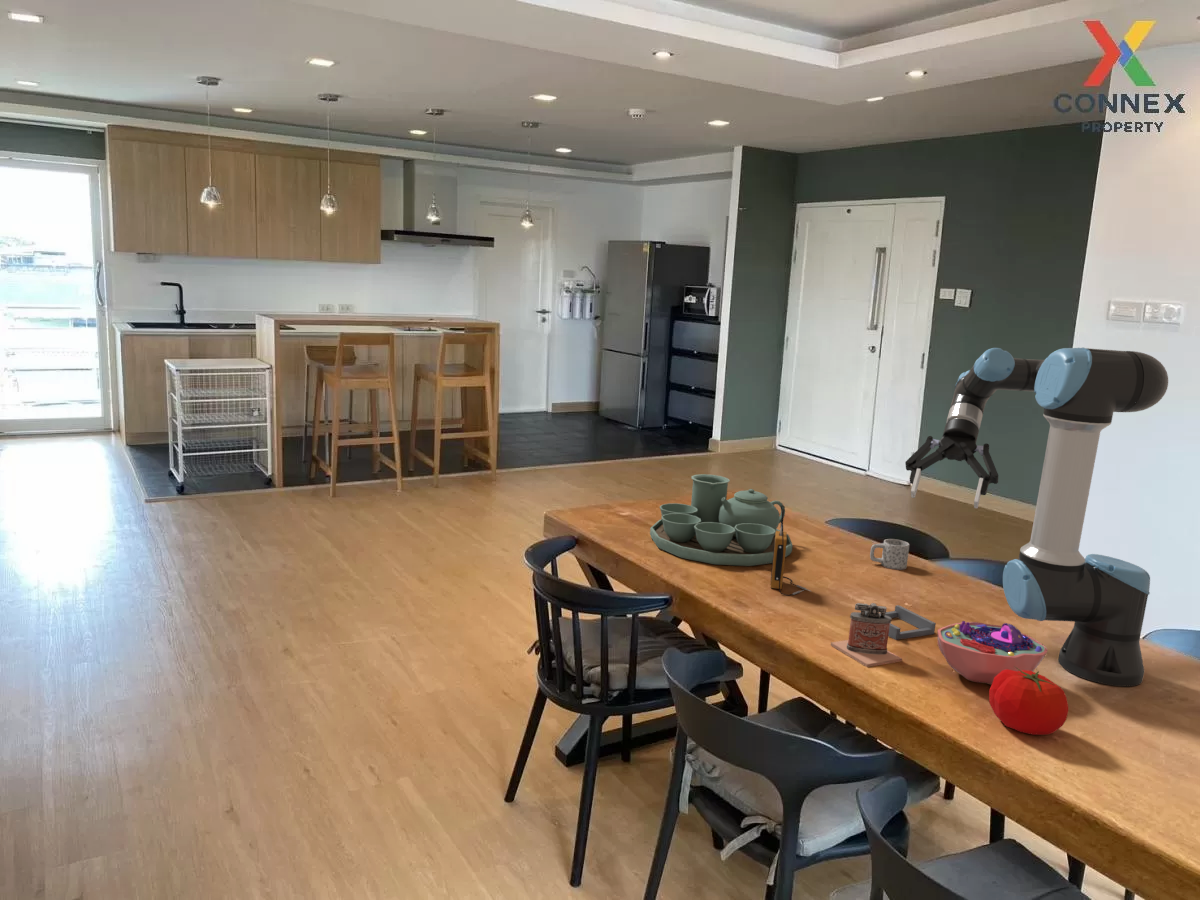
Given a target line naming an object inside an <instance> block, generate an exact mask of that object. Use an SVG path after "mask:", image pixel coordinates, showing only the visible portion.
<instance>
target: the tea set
mask: <svg viewBox="0 0 1200 900" xmlns="http://www.w3.org/2000/svg"><path fill="white" fill-rule="evenodd" d="M691 480H692V489H691V490H692V491H691V503H690V504H684V503H677V502H676V503H675V502H674V503H670V502H669V503H664V504H661V505H660V506H659V509H660V514H661V515H660V518H661V519H659V520H657V521H656V522H655V523H654V524H653V525H652V526H650V528H649V530H650V531H649V535H650V537H651V539H652V541H653V542H654V544H655V545H656V547H657V548H658V549H659V550H662V551H665V552H667V553H669V554H672V555H674V556H677V557H679V558H680V559H686V560H691V561H695V562H700V563H701V562H702V563H706V564H710V565H715V566H717V565H719V566H720V565H721V566H722V565H723V566H735V567H738V566H739V567H740V566H741V567H752V566H760V565H766V564H767V565H768V564H772V562H773V552H774V542H775V534H776V531H780V529H778V527H779V524H781V518H782V510H783V509H784V507H785V506H784V504H783V503H782V502H781V501H779V500H772V501H769V500H768V496H767V495H766V494H764V493H763V492H759V491H756V490H755V489H754V488H753V489H752V488H749V489H747V490H739V491H737V492H735V493H734V495H733V497H732V498H729V499H727V496H728V495H727V494H728V485H729V483H730V481H731V480H730V479H729V478H728V477H725V476H723V475H717V474H701V473H700V474H694V475H691ZM775 505H777V506H779V508H780V512H779V510H778V509H777V507H776V506H775ZM782 505H783V506H784V507H783V506H782ZM781 506H782V510H781ZM785 516H786V509H785V510H784V517H785ZM793 545H794V544H793V542H792V540H791V537H790V535H789V534H788V533H787V543H786V553H785V558H787V557H788V556H790V555H791V553H792V552H793Z"/></svg>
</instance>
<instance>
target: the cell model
mask: <svg viewBox="0 0 1200 900" xmlns="http://www.w3.org/2000/svg"><path fill="white" fill-rule="evenodd" d="M937 646H938V649H939V651H940V653H941V654H942V656H943V657H944V659H945V661H946V663H947V664H948V666H949V667H950V668H951V669H953V670H954V671H955V672H956V673H958V674H960V675H961V676H962V677H963V678H965V679H966V680H968V681H971V682H974V683H978V684H979V683H983V684H988V685H992V682H993V680H994V677H995V676H996V675H998V674H999V673H1000V672H1001V671H1002V670H1006V669H1008V670H1013V671H1019V670H1028V671H1032V672H1035V670H1036V669H1037V667H1039V665H1040V664H1041V662H1042V661H1043V659H1044V658H1045V656H1046V654H1047V653H1048V648H1047V646H1045V645H1044V644H1043V643H1041V641H1038V640H1037V639H1036V638H1034V637H1032V636H1030V635H1028V634H1026V633H1023V632H1021V630H1019V628H1017V626H1015V625H1013V624H1011V623H1007V622H1005V623H1002V625H997V624H988V623H982V622H979V621H965V620H962V621H961V622H956V623H951V624H948V625H946V626H943V627H940V628H938V629H937ZM1014 666H1015V667H1014ZM1017 668H1018V669H1019V670H1018V669H1017Z"/></svg>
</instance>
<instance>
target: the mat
mask: <svg viewBox="0 0 1200 900" xmlns="http://www.w3.org/2000/svg"><path fill="white" fill-rule="evenodd" d="M848 640H849V639H844V640H839V641H837V640H836V641H833V642H830V646H831V647H832V648H834V649H836V650H838V651H839V652H841V653H842V654H844V655H846V656H847V657H850V658H851V659H853V660H854V661H856V662H858V663H859V664H861V665H863V666H864V667H866V668H869V667H875V666H880V665H886V664H894V663H898V662H902V660H903V658H902V657H900V656H899V655H896V654H895V653H893V652H891V651H889V650H888V649H887V654H885V655H880V654H866V653H859V652H853V651H849V650H848V649H847V643H848Z"/></svg>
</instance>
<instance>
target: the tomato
mask: <svg viewBox="0 0 1200 900" xmlns="http://www.w3.org/2000/svg"><path fill="white" fill-rule="evenodd" d="M1014 667H1015V666H1014ZM1017 669H1018V668H1017ZM1018 670H1019V669H1018ZM1039 672H1040V671H1039V670H1037V672H1035V671H1033V672H1032V671H1028V670H1019V671H1013V670H1008V669H1006V670H1002V671H1001V672H1000V673H999V674H998V675H996V676H995V677H994V680H993V682H992V684H990V688H989V691H988V693H989V695H988V696H989V699H988V700H989V701H988V702H989V705H990V707H991V709H992V712H993V713H994V715H995V717H996V718H998V720H999V721H1000V722H1002V723H1003V725H1004V726H1005V727H1007V728H1010V729H1012V730H1015V731H1017V732H1020V733H1023V734H1024V733H1025V734H1029V735H1033V736H1034V735H1035V736H1037V735H1042V736H1043V735H1044V736H1045V735H1046V736H1047V735H1051V734H1053V733H1055V732H1057V731H1058V730H1059V729H1061V728H1062V727H1063V726H1064V724H1065V722H1066V720H1067V718H1068V714H1069V702H1068V698H1067V694H1066V693H1065V691H1064V689H1062V687H1060V686H1059V685H1058V684H1056V683H1055V682H1054V681H1052V680H1051V679H1049V678H1047V677H1046V676H1044V675H1042V674H1039Z"/></svg>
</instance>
